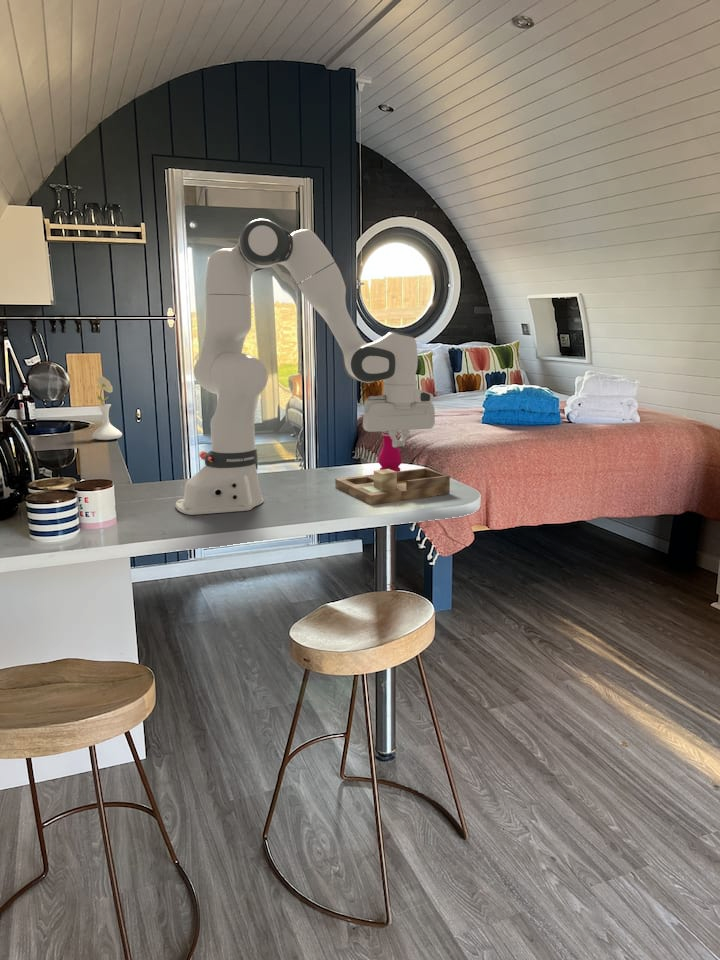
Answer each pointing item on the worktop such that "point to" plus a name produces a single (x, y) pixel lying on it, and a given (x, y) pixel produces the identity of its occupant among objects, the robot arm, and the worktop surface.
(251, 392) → the robot arm
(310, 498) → the worktop surface
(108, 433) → the flower in vase
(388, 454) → the pepper mill
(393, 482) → the maple block
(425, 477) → the board
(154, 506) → the worktop surface
